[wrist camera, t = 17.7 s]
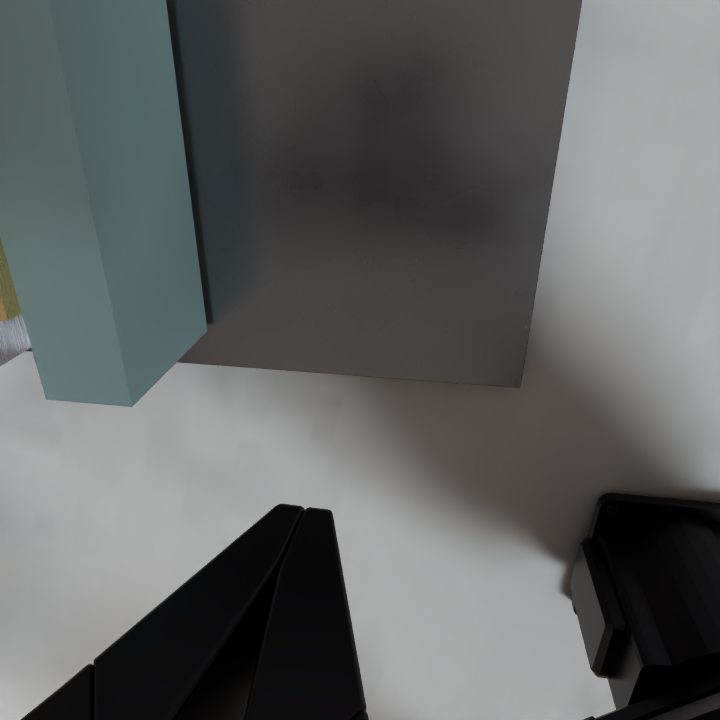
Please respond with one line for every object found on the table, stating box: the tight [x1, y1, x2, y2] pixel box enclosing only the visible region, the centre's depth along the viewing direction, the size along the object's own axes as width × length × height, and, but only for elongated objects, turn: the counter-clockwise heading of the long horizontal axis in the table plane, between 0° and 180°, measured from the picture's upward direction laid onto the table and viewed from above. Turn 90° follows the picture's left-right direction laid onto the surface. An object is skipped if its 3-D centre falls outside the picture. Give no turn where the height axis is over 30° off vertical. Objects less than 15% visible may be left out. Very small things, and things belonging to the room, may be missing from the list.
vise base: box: [0, 0, 582, 388], centre depth 15 cm, size 20×14×6 cm
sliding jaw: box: [0, 0, 207, 407], centre depth 15 cm, size 2×11×5 cm, turn 179°
